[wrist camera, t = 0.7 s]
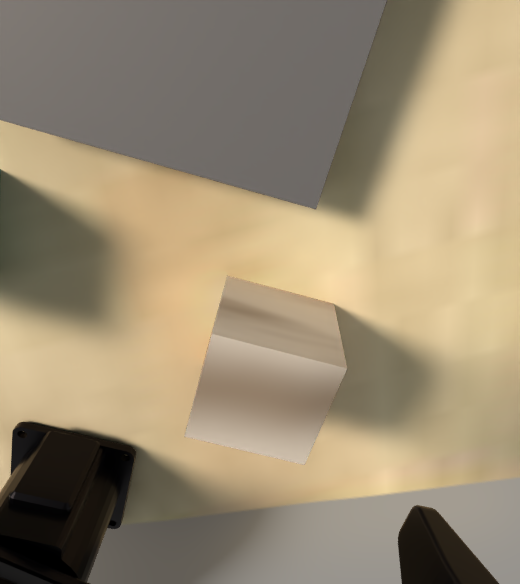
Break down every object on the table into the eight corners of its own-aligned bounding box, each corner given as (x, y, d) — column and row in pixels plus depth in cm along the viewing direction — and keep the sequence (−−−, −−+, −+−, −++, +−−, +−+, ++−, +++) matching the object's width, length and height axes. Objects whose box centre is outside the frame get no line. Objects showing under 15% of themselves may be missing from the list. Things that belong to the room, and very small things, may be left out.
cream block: (300, 387, 23) (304, 464, 19) (203, 363, 23) (184, 436, 19) (333, 303, 21) (347, 368, 17) (227, 274, 21) (212, 333, 16)
